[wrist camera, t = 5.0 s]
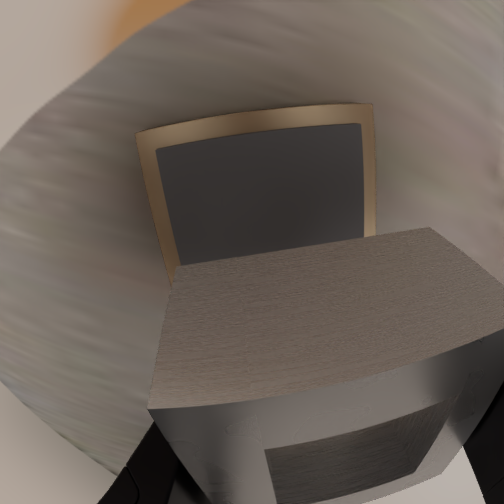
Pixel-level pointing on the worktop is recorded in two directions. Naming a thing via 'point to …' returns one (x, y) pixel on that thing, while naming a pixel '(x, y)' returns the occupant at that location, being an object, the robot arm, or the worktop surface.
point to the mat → (264, 191)
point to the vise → (247, 124)
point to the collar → (327, 368)
